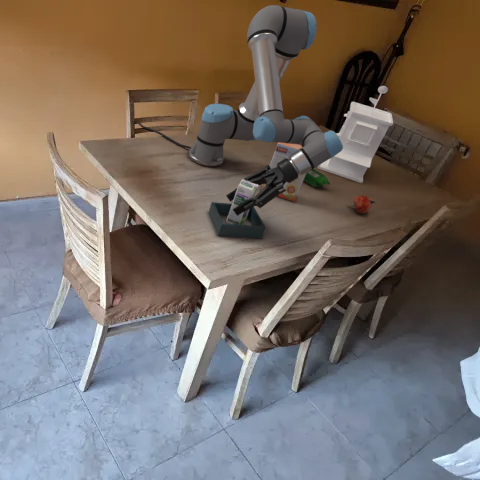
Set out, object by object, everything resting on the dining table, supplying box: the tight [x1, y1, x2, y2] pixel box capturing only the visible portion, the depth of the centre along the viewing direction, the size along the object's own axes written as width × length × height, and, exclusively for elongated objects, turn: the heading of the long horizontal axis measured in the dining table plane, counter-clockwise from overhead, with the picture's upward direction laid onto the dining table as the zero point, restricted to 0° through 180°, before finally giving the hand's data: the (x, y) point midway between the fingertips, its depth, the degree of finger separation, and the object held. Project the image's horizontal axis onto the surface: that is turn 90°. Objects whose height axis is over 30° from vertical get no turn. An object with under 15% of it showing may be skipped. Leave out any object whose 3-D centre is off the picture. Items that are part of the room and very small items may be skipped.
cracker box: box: [260, 142, 306, 202], centre depth 167 cm, size 14×6×21 cm, turn 71°
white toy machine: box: [317, 85, 394, 184], centre depth 197 cm, size 24×28×40 cm
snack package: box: [303, 168, 331, 188], centre depth 187 cm, size 7×16×5 cm, turn 35°
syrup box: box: [225, 178, 259, 225], centre depth 142 cm, size 6×6×14 cm
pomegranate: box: [348, 194, 376, 214], centre depth 172 cm, size 7×7×10 cm
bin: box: [208, 201, 267, 240], centre depth 146 cm, size 16×14×4 cm
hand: (231, 205), depth 142 cm, fingers closed on syrup box, 8 cm apart
